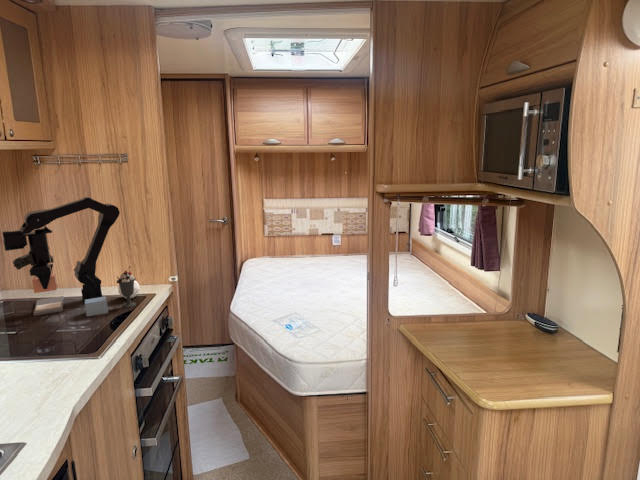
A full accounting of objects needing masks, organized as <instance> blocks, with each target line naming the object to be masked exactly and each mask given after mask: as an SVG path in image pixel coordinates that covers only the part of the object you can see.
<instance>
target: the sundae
mask: <svg viewBox="0 0 640 480" xmlns="http://www.w3.org/2000/svg"><path fill="white" fill-rule="evenodd" d="M130 269H131V266H130V265H129V266H128V268H127V270H125V271H124V272H123V273H121V275H120V277H119V276H116V278H117V280H116V284H118V286H119V285H120V289H121V292H122V294H123V295H124V296H125V297H127V298H126V303H124V304H122V305H121V306H122V308H127V309H129V308H133V307H135V306H136V305H137V303H136V302H132V301H131V298H130V296H131V295H132V294H133V292H134V281H137V280H136V278H135V277H134V275H133V274H132V272H131V271H130Z"/></svg>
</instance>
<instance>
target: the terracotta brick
mask: <svg viewBox="0 0 640 480" xmlns="http://www.w3.org/2000/svg"><path fill="white" fill-rule="evenodd" d="M31 283H32V286H33V287H32V289H33V292H34V294H38V293H45V292H53V291H57V290H58V284H57V276H56V273H51V276H50V279H49V283H48V287H47V289H43V287H42V285H41V283H40V281H39V279H38V277H36V276H32V279H31Z"/></svg>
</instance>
